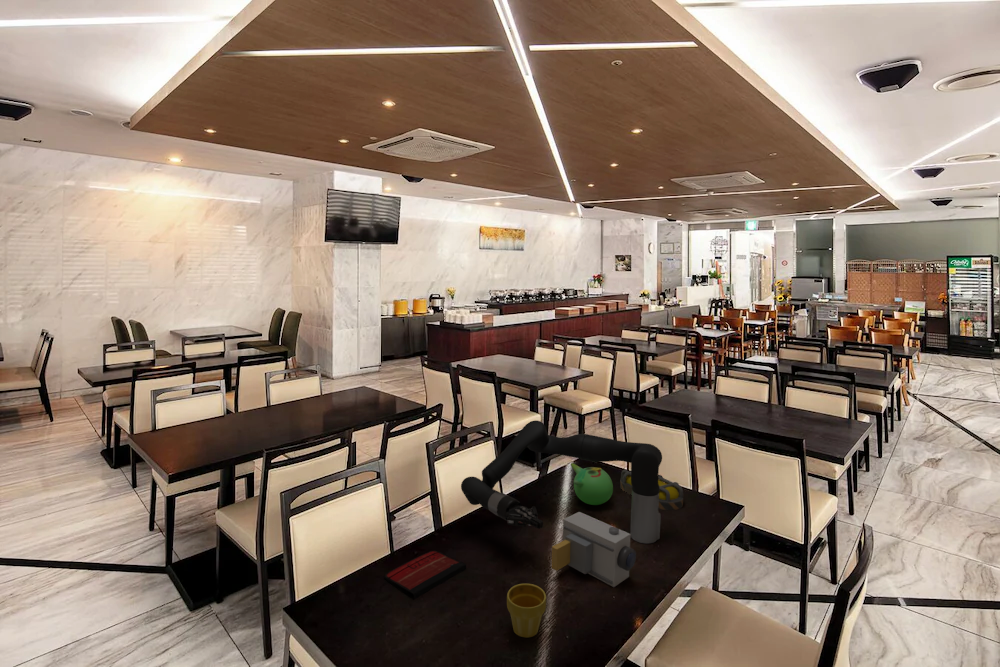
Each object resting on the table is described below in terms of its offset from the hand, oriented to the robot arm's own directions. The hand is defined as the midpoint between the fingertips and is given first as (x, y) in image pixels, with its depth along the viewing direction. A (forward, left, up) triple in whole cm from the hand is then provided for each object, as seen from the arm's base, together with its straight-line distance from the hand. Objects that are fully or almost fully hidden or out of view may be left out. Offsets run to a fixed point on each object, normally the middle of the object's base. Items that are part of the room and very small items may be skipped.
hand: (541, 525), depth 163 cm
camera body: (-17, +6, -14) cm, 23 cm away
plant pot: (+14, +25, -15) cm, 32 cm away
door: (-7, +7, -12) cm, 16 cm away
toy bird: (-37, -39, -15) cm, 56 cm away
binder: (+36, -8, -15) cm, 40 cm away
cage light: (-64, -38, -15) cm, 76 cm away
